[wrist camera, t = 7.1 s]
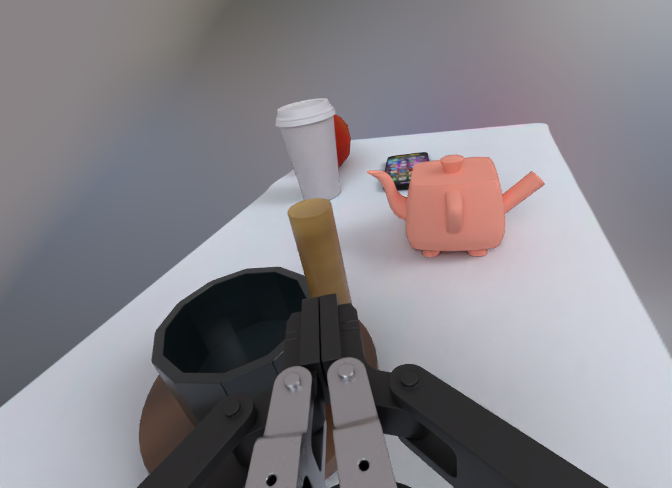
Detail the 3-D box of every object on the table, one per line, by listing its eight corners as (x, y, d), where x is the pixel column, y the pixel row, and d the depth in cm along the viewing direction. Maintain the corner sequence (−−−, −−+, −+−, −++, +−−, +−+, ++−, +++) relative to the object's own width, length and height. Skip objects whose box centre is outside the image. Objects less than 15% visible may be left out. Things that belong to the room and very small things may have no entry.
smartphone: (381, 186, 56) (387, 156, 69) (381, 192, 57) (387, 161, 69) (431, 181, 54) (428, 151, 67) (431, 187, 55) (428, 156, 67)
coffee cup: (284, 202, 61) (259, 113, 53) (319, 181, 67) (301, 98, 59) (325, 210, 55) (304, 111, 48) (360, 186, 61) (345, 95, 54)
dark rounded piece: (108, 416, 28) (-27, 255, 20) (274, 287, 39) (227, 151, 31) (246, 606, 17) (63, 411, 9) (423, 350, 28) (408, 163, 20)
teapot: (465, 205, 48) (465, 131, 43) (542, 238, 38) (554, 147, 33) (376, 241, 44) (365, 165, 39) (436, 289, 35) (432, 195, 30)
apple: (360, 167, 69) (351, 107, 64) (311, 180, 68) (297, 119, 63) (347, 155, 78) (338, 100, 72) (304, 166, 77) (291, 111, 71)
